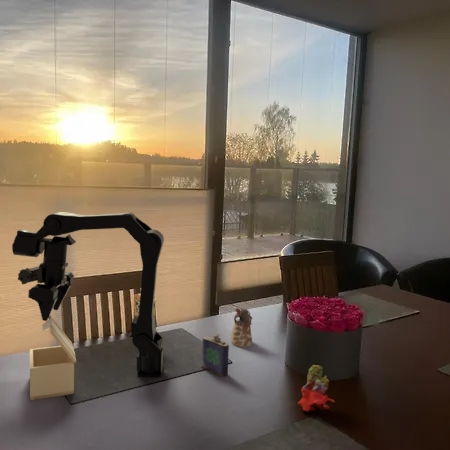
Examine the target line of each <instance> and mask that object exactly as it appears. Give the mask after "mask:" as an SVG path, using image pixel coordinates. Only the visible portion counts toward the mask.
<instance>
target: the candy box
mask: <svg viewBox="0 0 450 450" xmlns="http://www.w3.org/2000/svg"><path fill="white" fill-rule="evenodd" d="M140 294H141V293H136V294H133V317H134V316H137V317H138V315H139V306H140ZM156 301H157V300H156V299H154V308H153V313H154V318H155V319H156Z"/></svg>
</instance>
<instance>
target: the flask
mask: <svg viewBox="0 0 450 450" xmlns="http://www.w3.org/2000/svg"><path fill="white" fill-rule="evenodd" d="M219 336H220V334H219V333H218V334H217V333H216V334H215V335H212V337H211V336H203V337H202V349H201V365H200V366H201V367H202V369H204V370H206V371H208V372H211V373H214V374H217V375H218V376H220V377H224V378H225V377H228V375H229V373H228V372H229V352H230V351H229V350H230V349H229V348H230V345H229V343H226V341H223V340H222V339H221V338H220V337H219Z"/></svg>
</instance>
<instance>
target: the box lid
mask: <svg viewBox="0 0 450 450" xmlns="http://www.w3.org/2000/svg"><path fill="white" fill-rule="evenodd" d="M41 325H42V328H41V329H42V332H45V331H46V330H47V329H48V328H49V332H50V334H51V336H52V337H53V338H54V339H55V340H56V342H57V344H58V346H61V347H62V348H63V350H64V351H65V352H66V353H67V355H68V356H69V357H70V358H71V360H72V361H73V362H74V364H75V363H77V359H76V353H75V348H74V345H73V342H72V341H71V340H70V338H69V337H68V336H67V335H66V333H65V332H64V330H62V328H61V327H60V325H59V324H58V323H57V322H56V320H55V319H54V318H53V317H52V315H51V314H50V316H49V317H48V320H47V321H44V323H42V324H41Z"/></svg>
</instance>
